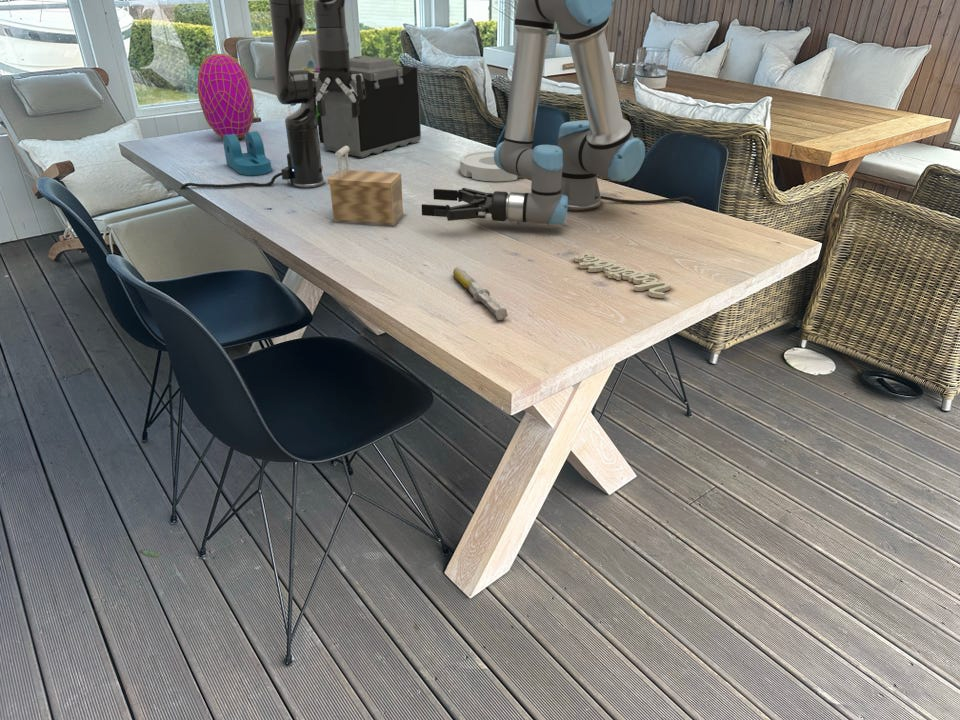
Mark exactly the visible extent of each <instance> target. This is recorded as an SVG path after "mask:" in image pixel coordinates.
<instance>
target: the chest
mask: <svg viewBox="0 0 960 720" xmlns="http://www.w3.org/2000/svg"><path fill="white" fill-rule="evenodd" d="M329 188H330V189H329V191H330V198H331V209H332V219H333V223H338V224H350V225H351V224H353V225H365V226H383V227H395V225H396V224H397V223H398V222H399V221H400V219H401V218H402V217H403V216H404V206H403V205H404V204H403V203H404V202H403V183H402V178H401V179H400V180H399V181H398V182H397V183H396V184H395V185H394V186H393V187H392V188H383V187H367V186H351V185H335V184H329Z"/></svg>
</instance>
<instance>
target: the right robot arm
mask: <svg viewBox="0 0 960 720" xmlns="http://www.w3.org/2000/svg"><path fill="white" fill-rule="evenodd" d="M614 3H615V0H518V1H517V5H516V10H515V17H514V23H513V27H514V28H515V30H516V32H517V34H516V41H515V42H516V43H515V50H514V57H513V65H512V72H511V81H510V89H509V97H508V104H507V113H506V119H505V120H506V122H505V128H504V135H503V136H504V137H503V141H502V142H500V143H498V144H497V146H496V148H495V149H494V151H495V152H494V162H495V164H496V166H497V167H498V168H500V169H502V170H504V171H506V172H507V173H510V174H514V175H517V176H520V177H522V178H521V179H525V180H528V181H531V183H530V184H531V185H530V192H522V191H521V192H520V191H510V192H508V191H502V190H501V191H500V190H498V191H497V190H494V191H493V192H484V191H480V190H476V189H471V188H467V187H462V188H461V189H458V190H457V189H439V188H433V192H432V193H433V200H437V201H451V202H457V203H461V202H464V203H465V204H459V205H454V206H451V205H449V204H446V205H440V204H425V203H422V204H421V216H425V217H440V218H442V217H443V218H447V221H448V222H450V221H452V222H453V221H460V220H471V219H483V220H484V219H486V217H487V215H488V214H489V215H490V217H491V220H492V221H494V222H495V221H496V222H506V221H508V222H512V223H513V222H515V223H516V224H517V225H519V224H520V223H528V224H539V225H541V224H542V225H564V224H565V223H566V221H567V218H568V211H571V212H573V211H574V212H583V211H591V210H594V209H595V210H596V209H597V208H599V207H600V206H601V201H602V200H605V201H611V202H615V203H624V204H658V203H668V202H672V203H673V202H679V201H684V200H685V201H689V202H690V203H691V204H696V200H694V199H693V198H692V197H690V196H679V197H674V198H673V197H672V198H661V199H650V200H649V199H646V200H645V199H642V200H641V199H640V200H638V199H622V198H615V197H611V196H606V195H605V196H604V195H601V191H600V187H599V182H598V177H597V176H599V177H602V178H605V179H607V180H609V181H613V182H614V181H615V182H619V183H620V182H621V183H624V182H628V181H629V180H631V179H633V178H634V177H635V176H636V175H637V173H638V172H639V171H640V169H641V167H642V165H643V163H644V160H645V156H646V147H645V142H643V140H642V139H640V138H639V137H635V136H634V135H633V129H632V125H631V123H630V121H629V120H627V119H625V118H624V116H623V112H622V108H621V103H620V98H619V93H618V88H617V83H616V79H615V75H614V71H613V65H612V61H611V56H610V51H609V46H608V43H607V42H608V41H607V38H606V33H605V32H606V31H605V29H606V28H607V26H608V25H609V23H610V19H609V17H610V15H611V14H612V12H613V8H614V7H613V6H612V5H613V4H614ZM555 23H556V27H557V31H558V35H559V38H560V39H561V40H562V41H564V42H567V43H568V47H569V51H570V54H571V58H572V63H573V66H574V70H575V75H576V78H577V82H578V86H579V90H580V94H581V98H582V101H583V106H584V110H585V114H586V118H587V119H586V120H585V119H584V120H582V119H581V120H572V121H566V122H563V123H562V124H561V125H560V126H559V130H558V131H559V132H558V137H557V145H556V144H555V145H553V144H539V145H536V146H534V147H533V142H534V136H535V135H534V134H535V127H536V121H537V114H538V109H539V108H538V107H539V100H540V94H541V88H542V87H541V86H542V81H543V75H544V67H545V62H546V61H545V59H546V53H547V46H548V39H549V36H550V35H551V34H552V33H553V32H554V28H555Z"/></svg>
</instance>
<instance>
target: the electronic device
mask: <svg viewBox="0 0 960 720" xmlns="http://www.w3.org/2000/svg"><path fill="white" fill-rule="evenodd" d="M349 58H350V71H351V73H352V74H360V73H362V74H363V76H364V84H365V92H366V98H365V99H363V100H360V101H359V111H360V113H359V115H358V117H357V118H353V117H352V107H351V103H352V101H351V99H350V98H349V97H348V96H347V95H346V94H345V92H344V91H343V92H337V91H334V92H330V91H328V92H327V93H326V95H325V97H324V98H323V100H325V110H326V115H325V116H320V115H319V116H318V117H317V120H318V124H317V127H318V137H319V144H323V146H324V149H325V150H327V151H330V152H335V153H336V152H337V151H338V150H340V149H341V148H343V147H344V146H348V147H349V149H350V150H349V152H348V156H353V157H357V158H362V159H363V158H366V157H367V158H368V157H369V155H371V154H375V155H377V154H381V153H382V152H383V151H391V150H395V149H396V148H397V147H405V146H407V145H408V144H416V143H418V142H419V141H421V137H422V128H421V97H420V92H419V91H420V89H419V68H418V67H417V66H408V65H400V64H396V62H395V60H394V59H393V58H385V57H377V56H367V55H356V56H353V57H349ZM314 72H315V73H319V72H320V71H314ZM322 85H323V83H322V82H321V80H320V79H319V78H318V81H316V89H317V93H319V90H320V88H321V87H322ZM350 85H351V86H352V87H353V89H354V90H355V93H356V94H357V95H358V91H357V84H356V83H355V82H354V80H353V79H352V81H351V82H350Z"/></svg>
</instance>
